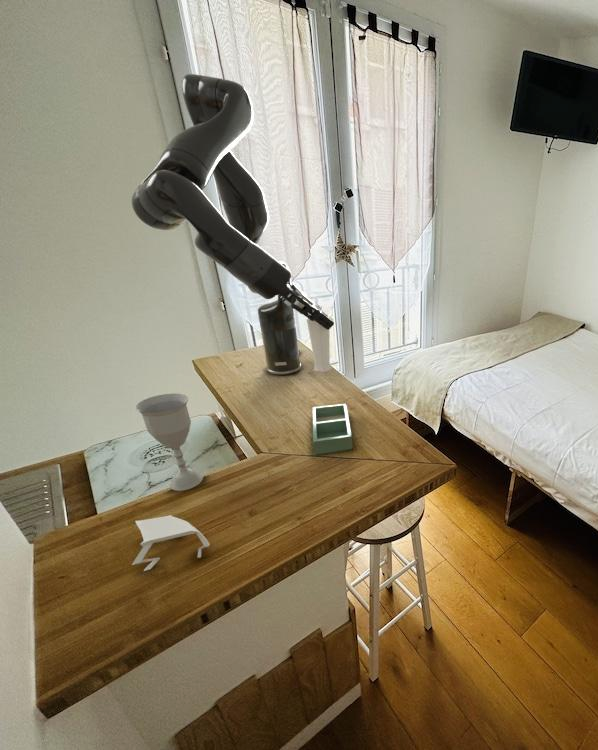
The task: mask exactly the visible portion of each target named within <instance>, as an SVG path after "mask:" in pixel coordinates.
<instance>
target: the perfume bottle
mask: <svg viewBox="0 0 598 750" xmlns="http://www.w3.org/2000/svg"><path fill="white" fill-rule="evenodd" d="M313 306H315V307H316V308H317V309H319V310H320V311H321V312H322V311H323V310H322V308H323V306H322V305H320V304H315V305H313ZM312 311H313V312H314V310H312ZM306 323H307V328H308V335H309V340H310V345H311V350H312V355H313V361H314V366H313V367H314V368H313V371H314V372H322V373H325V372H327V371H329V370H331V369H332V368H333V367H332V365H331V362H330V358H331V357H330V329H329V330H327V329H325V328H324V327H323V326H321V325H320V324H319V323H317V322H316V321H315V320H314V321H311V320H310V319H309V318H306Z"/></svg>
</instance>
